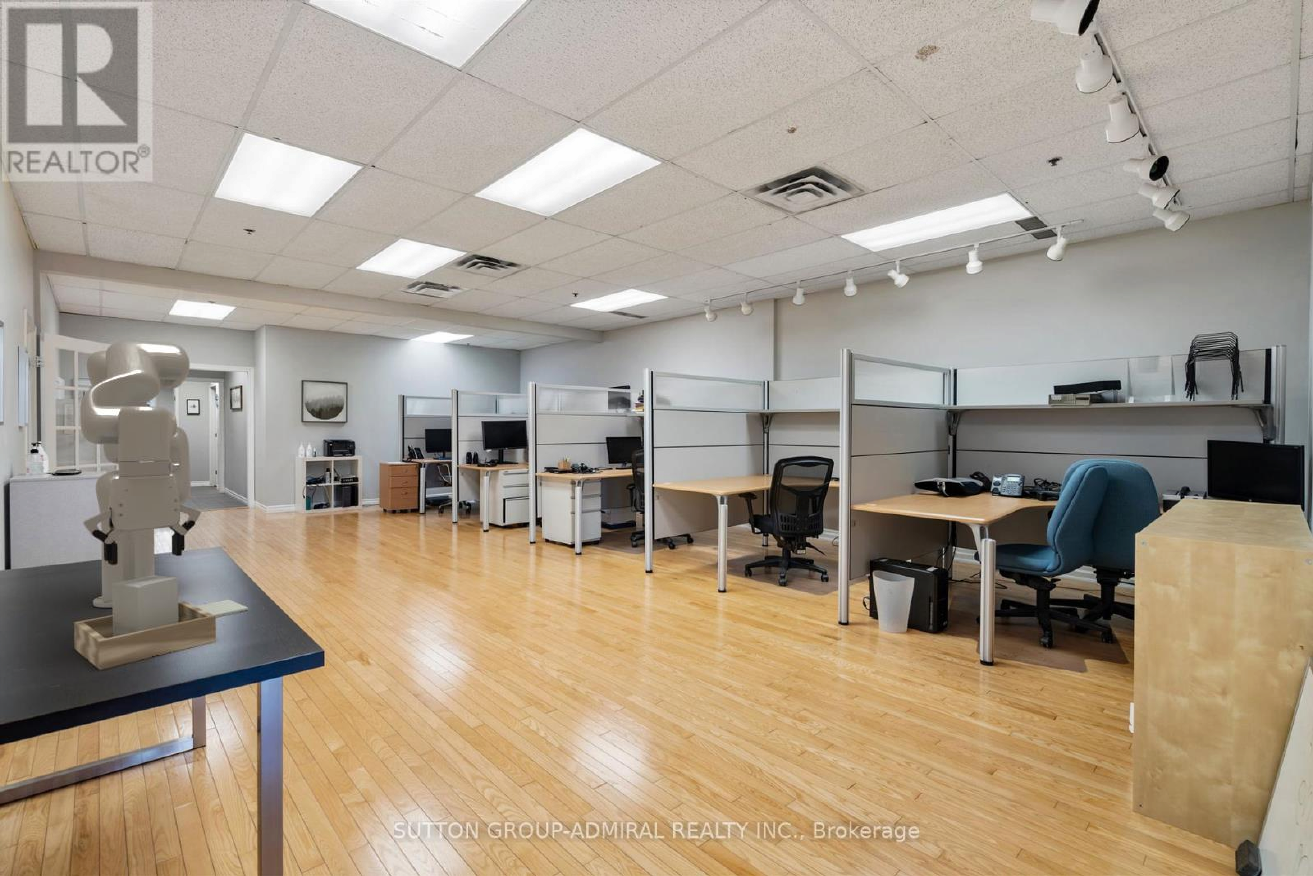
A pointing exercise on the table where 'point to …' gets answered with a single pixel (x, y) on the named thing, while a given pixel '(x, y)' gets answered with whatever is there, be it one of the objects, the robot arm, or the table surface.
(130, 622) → the supplement box
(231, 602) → the mat
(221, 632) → the table surface
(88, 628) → the crate
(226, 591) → the table surface
